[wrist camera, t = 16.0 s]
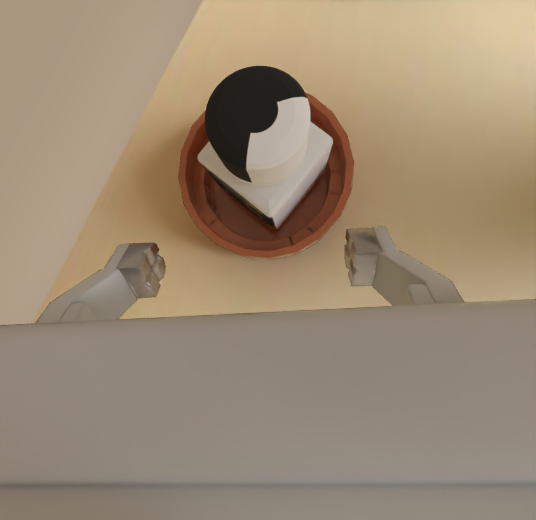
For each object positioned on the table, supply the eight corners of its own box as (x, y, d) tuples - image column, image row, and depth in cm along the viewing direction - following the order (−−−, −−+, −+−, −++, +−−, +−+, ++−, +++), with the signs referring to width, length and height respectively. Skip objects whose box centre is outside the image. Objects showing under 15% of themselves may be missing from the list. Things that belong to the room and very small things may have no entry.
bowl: (262, 84, 29) (256, 50, 25) (375, 176, 28) (391, 158, 23) (167, 194, 29) (144, 180, 25) (274, 290, 28) (271, 294, 24)
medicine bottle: (218, 185, 28) (165, 123, 17) (265, 127, 28) (246, 21, 16) (276, 232, 28) (264, 202, 16) (324, 172, 28) (349, 96, 16)
